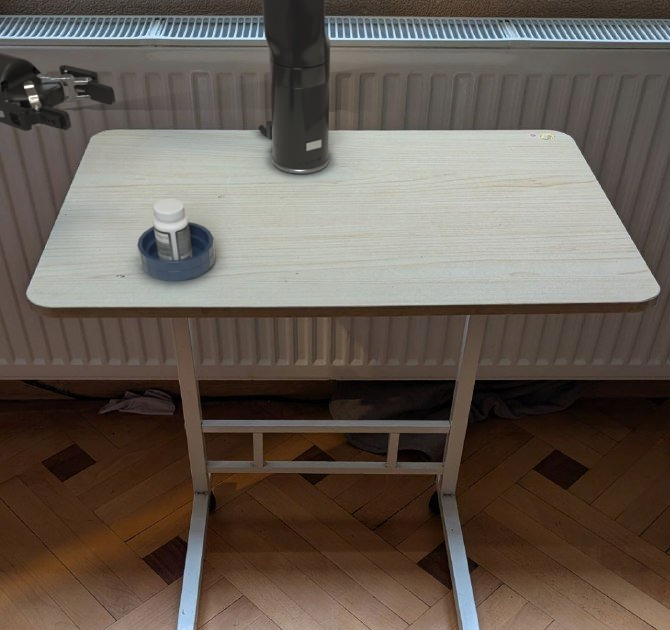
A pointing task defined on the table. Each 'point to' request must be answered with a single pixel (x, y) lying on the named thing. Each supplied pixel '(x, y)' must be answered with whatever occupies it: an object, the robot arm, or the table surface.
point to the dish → (178, 268)
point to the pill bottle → (172, 230)
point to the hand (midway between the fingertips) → (91, 108)
